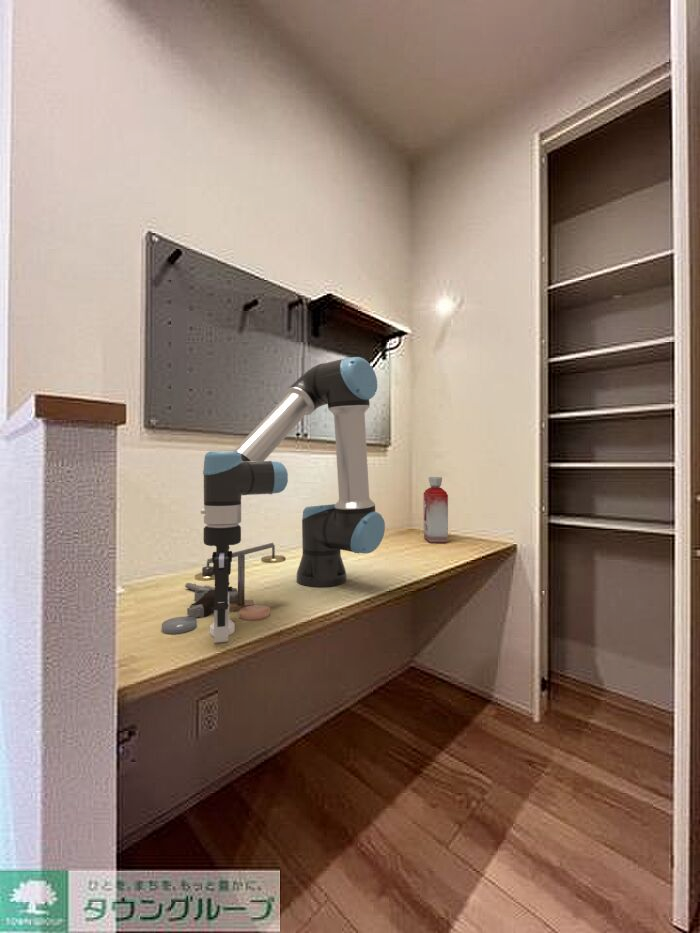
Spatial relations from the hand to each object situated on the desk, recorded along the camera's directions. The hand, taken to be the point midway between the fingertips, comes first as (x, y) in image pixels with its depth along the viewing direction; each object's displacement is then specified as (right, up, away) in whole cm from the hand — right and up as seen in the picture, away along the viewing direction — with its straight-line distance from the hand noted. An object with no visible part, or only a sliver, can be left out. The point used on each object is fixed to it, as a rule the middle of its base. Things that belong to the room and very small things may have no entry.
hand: (222, 631), depth 90 cm
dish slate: (-10, 0, +2) cm, 10 cm away
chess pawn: (0, 0, 0) cm, 0 cm away
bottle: (+67, -1, +111) cm, 129 cm away
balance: (0, 0, +15) cm, 16 cm away
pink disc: (+5, 0, +10) cm, 11 cm away
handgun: (-13, -1, +20) cm, 24 cm away
